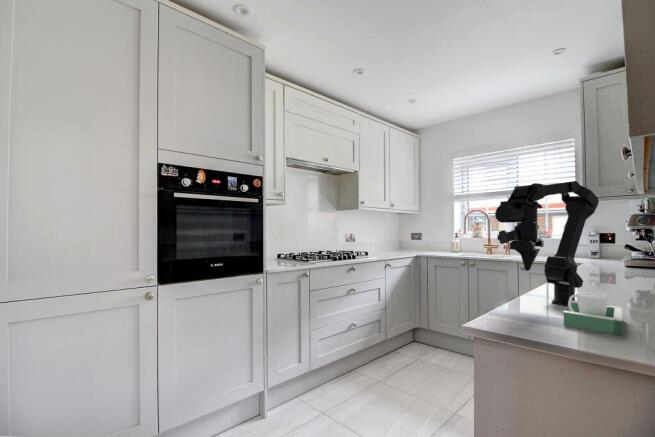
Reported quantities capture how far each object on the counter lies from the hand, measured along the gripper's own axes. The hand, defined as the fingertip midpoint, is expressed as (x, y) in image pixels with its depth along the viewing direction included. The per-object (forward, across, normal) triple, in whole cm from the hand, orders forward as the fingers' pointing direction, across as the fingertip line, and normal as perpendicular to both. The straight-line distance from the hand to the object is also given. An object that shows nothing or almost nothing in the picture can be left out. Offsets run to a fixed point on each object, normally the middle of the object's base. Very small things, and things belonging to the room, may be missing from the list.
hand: (527, 270), depth 104 cm
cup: (+12, +7, +15) cm, 21 cm away
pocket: (+12, +6, +16) cm, 21 cm away
